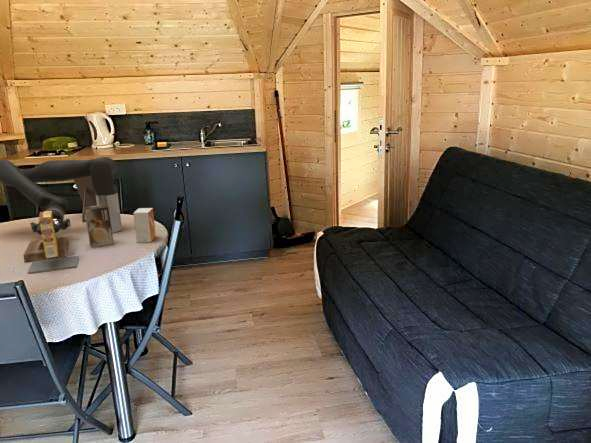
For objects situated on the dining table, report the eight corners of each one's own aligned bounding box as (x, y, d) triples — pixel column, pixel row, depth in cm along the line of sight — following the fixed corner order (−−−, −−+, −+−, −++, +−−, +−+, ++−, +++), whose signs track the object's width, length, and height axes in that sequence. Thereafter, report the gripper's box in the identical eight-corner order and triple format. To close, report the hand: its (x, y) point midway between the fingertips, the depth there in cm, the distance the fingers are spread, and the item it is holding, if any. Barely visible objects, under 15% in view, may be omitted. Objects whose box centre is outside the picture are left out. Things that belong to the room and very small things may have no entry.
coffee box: (112, 240, 205) (107, 203, 201) (114, 244, 200) (109, 206, 196) (89, 243, 201) (83, 206, 197) (90, 247, 196) (84, 209, 191)
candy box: (58, 256, 173) (51, 216, 169) (45, 258, 171) (38, 217, 167) (58, 249, 181) (52, 210, 176) (45, 251, 179) (39, 211, 175)
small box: (151, 242, 201) (148, 212, 197) (136, 242, 201) (132, 212, 197) (156, 236, 209) (153, 207, 205) (141, 236, 209) (138, 208, 205)
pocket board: (68, 243, 202) (67, 236, 201) (65, 257, 185) (64, 249, 185) (31, 248, 197) (30, 241, 196) (24, 262, 181) (23, 254, 180)
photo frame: (95, 211, 254) (87, 164, 247) (116, 217, 241) (109, 168, 233) (67, 217, 244) (58, 168, 237) (87, 224, 230) (79, 173, 223)
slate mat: (78, 256, 185) (78, 255, 185) (77, 267, 175) (76, 265, 174) (32, 262, 180) (32, 261, 180) (27, 274, 169) (27, 272, 169)
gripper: (30, 211, 184) (23, 223, 169) (71, 208, 189) (68, 219, 174) (33, 230, 186) (27, 243, 171) (73, 226, 191) (71, 238, 176)
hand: (47, 231), depth 172 cm, fingers closed on candy box, 4 cm apart
